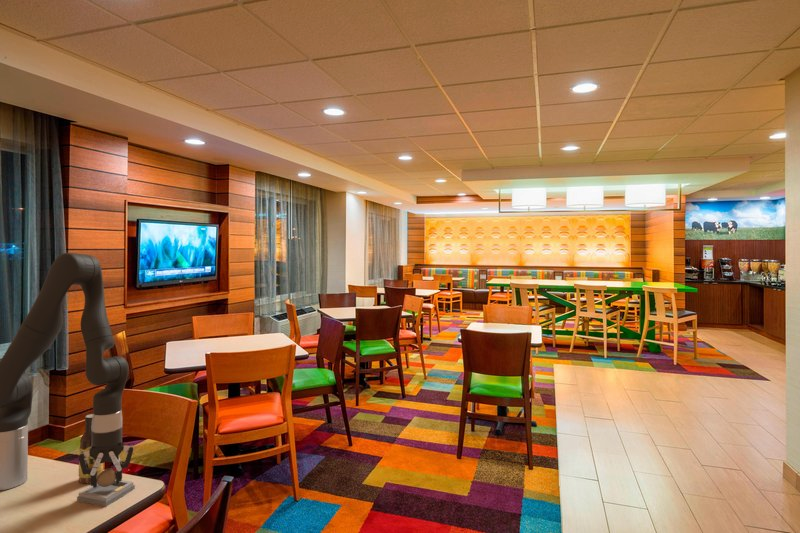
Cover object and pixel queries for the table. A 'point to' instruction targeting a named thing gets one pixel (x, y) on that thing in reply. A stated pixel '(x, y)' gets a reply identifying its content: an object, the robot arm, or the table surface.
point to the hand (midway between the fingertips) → (106, 484)
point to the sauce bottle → (86, 446)
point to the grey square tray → (105, 493)
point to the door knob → (106, 477)
